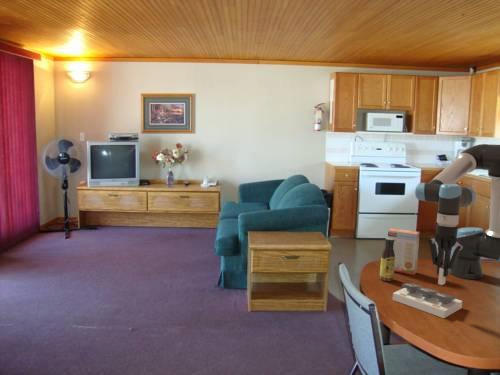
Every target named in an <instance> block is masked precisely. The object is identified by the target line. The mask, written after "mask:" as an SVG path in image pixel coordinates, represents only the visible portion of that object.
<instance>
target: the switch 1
mask: <svg viewBox="0 0 500 375" xmlns="http://www.w3.org/2000/svg"><path fill="white" fill-rule="evenodd" d="M401 288H402V289H403V288H406V289H409V290H417V289H422V288H423V286H422V285H418V284H416V283H413V282H412V283H401Z"/></svg>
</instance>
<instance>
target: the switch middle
mask: <svg viewBox="0 0 500 375" xmlns="http://www.w3.org/2000/svg"><path fill="white" fill-rule="evenodd" d="M417 292H418V293H421V294H424V295H434V294H438V293H439V291H438V290H434V289H431V288H428V287H427V288H426V287H425V288H424V287H422V289H417Z"/></svg>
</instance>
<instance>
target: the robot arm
mask: <svg viewBox="0 0 500 375" xmlns="http://www.w3.org/2000/svg"><path fill="white" fill-rule="evenodd" d="M475 170H484V171H487V176H488V177H489V178H490V179H491V183H490V184H491V185H490V204H489V206H490V207H489V208H490V209H489V226H488V227H489V228H488V229H486V230H485V231H484V228H481V227H474V226H473V227H468V226H467V227H461V228H459V227H458V225H459V220H460V219H459V218H460V209H461V208H462V207H463V208H467V207H468V206H471V205H473V204H474V202H476V199H477V195H476V192H475V190H474V189H473V188H471V187H467V186H461V185H459V184H456V183H457V182H459V181H460V180H461V179H462V178H464V176H466V175H467V173H471V172H473V171H475ZM414 189H415V190H414V194H415V198H416V199H417V200H419V201H423V202H429V203H434V204H438V206H437V213H436V214H437V215H436V223H437V224H435V235H434V237H433V238H430V239H428V240H427V241H428V244H429V246H430V252H431V259H432V260H431V261H432V264H433V265H435V266H436V275H437V276H438V280H437V285H440V286H443V285H445V284H446V277H448V276H449V274H451V276H455V277H458V278H461V279H466V280H467V279H468V280H480V279H482V278H483V277H484V270H483V267H482V262H481V258H484V259H487V260H491V261H496V262H498V263H500V144H492V143H491V144H489V143H488V144H486V143H482V144H475V145H473V146H470V147H468V148H466V149H464V150H462V151H461V152H460V153H459V154H457V155H456V156H455V158H454V161H453V162H451V163H450V164H448V166H447V167H445V168H444V169H443V170H442V171H440V173H438V174H437V175H436V176H434V178H433V179H431V180H429V182H419V183H418V184H417V185H416V187H415V188H414ZM437 246H438V247H437ZM452 248H454V250H453V253H452Z"/></svg>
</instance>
